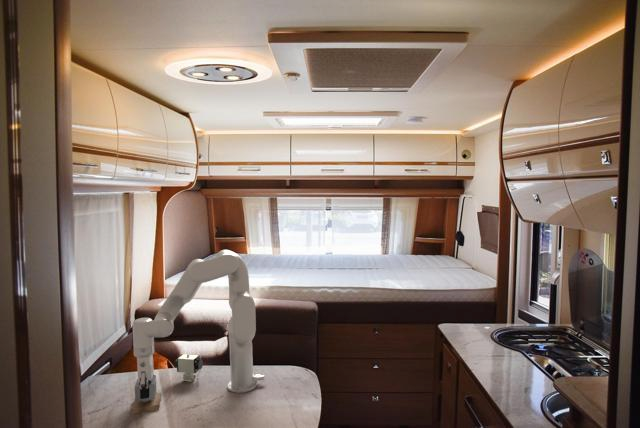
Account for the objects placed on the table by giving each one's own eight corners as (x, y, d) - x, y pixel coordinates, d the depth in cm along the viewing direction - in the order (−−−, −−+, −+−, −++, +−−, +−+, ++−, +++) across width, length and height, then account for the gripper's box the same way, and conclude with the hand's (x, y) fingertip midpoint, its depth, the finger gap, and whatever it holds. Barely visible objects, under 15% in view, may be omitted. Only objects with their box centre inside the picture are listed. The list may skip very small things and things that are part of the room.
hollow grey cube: (156, 390, 167) (155, 376, 166) (154, 399, 160) (153, 384, 160) (137, 393, 165) (137, 379, 164) (135, 402, 158) (134, 387, 158)
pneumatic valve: (198, 383, 180) (197, 357, 179) (174, 382, 182) (173, 355, 181) (204, 378, 185) (203, 352, 184) (181, 376, 187) (180, 350, 187)
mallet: (164, 378, 185) (164, 367, 185) (159, 409, 159) (158, 395, 159) (141, 382, 182) (140, 370, 182) (131, 414, 156) (130, 400, 156)
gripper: (151, 357, 154) (153, 402, 155) (156, 341, 171) (158, 382, 172) (130, 359, 152) (132, 406, 153) (136, 343, 169) (138, 385, 170)
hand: (146, 393), depth 162 cm, fingers closed on hollow grey cube, 7 cm apart
